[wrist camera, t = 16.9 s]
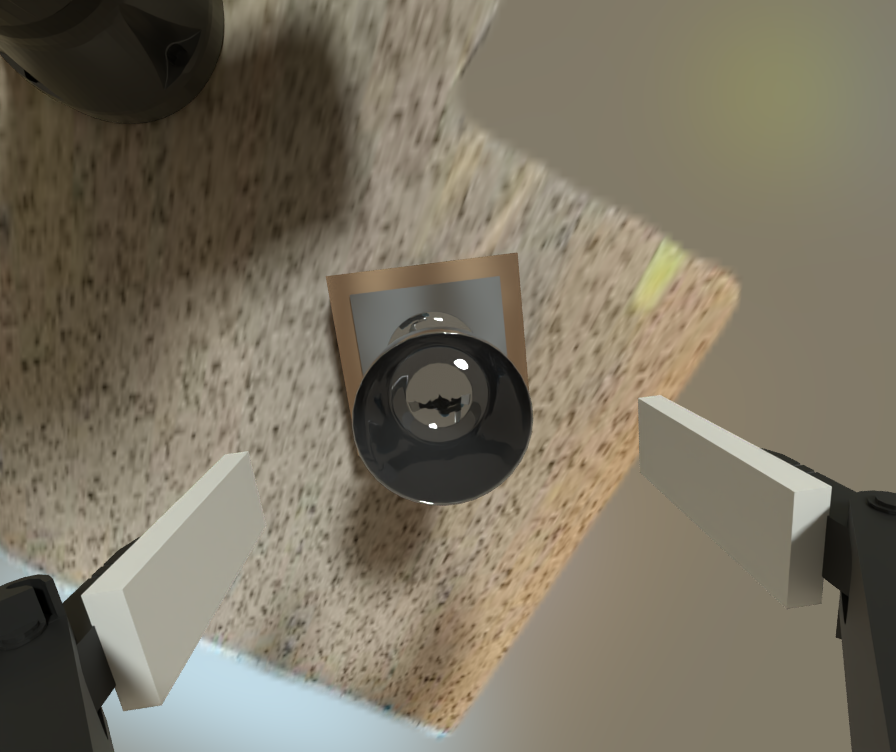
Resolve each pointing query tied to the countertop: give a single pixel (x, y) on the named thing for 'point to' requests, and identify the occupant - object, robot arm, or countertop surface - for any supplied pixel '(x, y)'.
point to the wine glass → (441, 413)
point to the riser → (426, 308)
